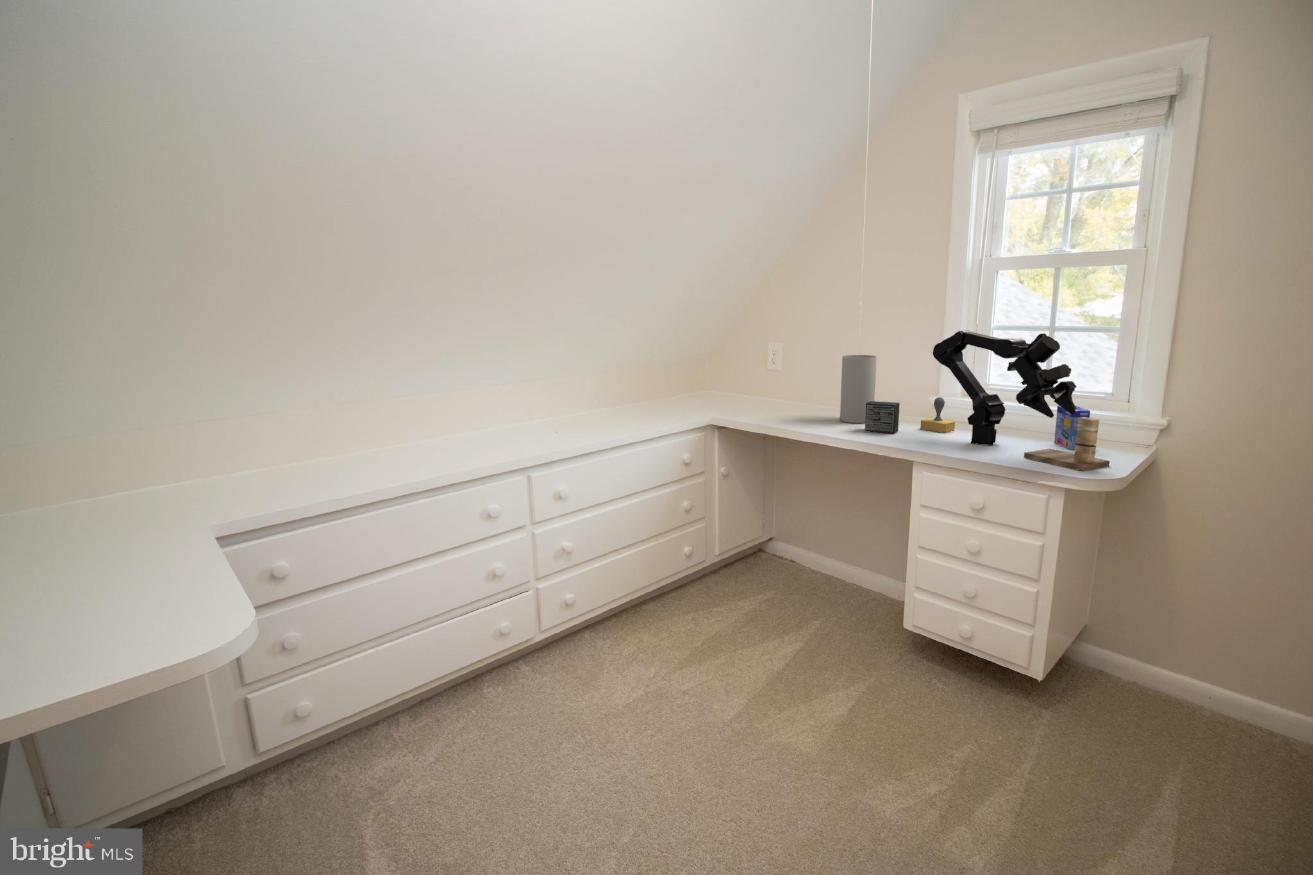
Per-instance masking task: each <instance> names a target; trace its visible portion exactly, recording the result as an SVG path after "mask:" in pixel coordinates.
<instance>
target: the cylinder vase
mask: <svg viewBox="0 0 1313 875" xmlns="http://www.w3.org/2000/svg"><path fill="white" fill-rule="evenodd" d="M877 360H878V358H877V356H876V355H870V354H869V355H868V354H850V355H849V354H848V355H842V357H841V380H840V382H841V383H840V385H841V386H840V409H839V410H840V412H839V419H840V421H842V422H843V423H847V424H857V425H858V424H865V418H866V403H867V402H870V401H875V400H876V399H875V396H876V382H877V381H876V377H877V376H876V375H877Z"/></svg>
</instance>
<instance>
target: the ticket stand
mask: <svg viewBox="0 0 1313 875" xmlns="http://www.w3.org/2000/svg"><path fill="white" fill-rule="evenodd" d="M1075 445H1076V446H1075V449H1074V452H1069V451H1064V450H1059V449H1058V450H1057V449H1054V448H1050V447H1049V448H1044V449H1037V450H1032V451H1025V452H1024V453H1023V458H1024V459H1028V460H1033V461H1038V462H1042V463H1047V464H1050V465H1055V466H1060V467H1064V468H1067V467H1068V469H1072V470H1076V469H1078V470H1077V471H1080V470H1086V471H1091V470H1096V469H1100V468H1101V467H1102V468H1106V467H1110V462H1111V461H1110V460H1108V459H1107V460H1106V459H1104V458H1103V459H1102V458H1097V457H1095V456H1096V451H1097V444H1096V445H1091V446H1090V445H1085V444H1080V443H1077V444H1075ZM1090 469H1091V470H1090Z"/></svg>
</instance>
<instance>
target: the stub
mask: <svg viewBox="0 0 1313 875" xmlns="http://www.w3.org/2000/svg"><path fill="white" fill-rule="evenodd" d="M1099 424H1100V419H1099V418H1094V417H1093V418H1092V417H1090V418H1087V417H1082V418H1079V420H1078V427H1077V437H1076V443H1080V444H1085V445H1090V446H1091V445H1096V446H1097V441H1098V434H1099Z"/></svg>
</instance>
